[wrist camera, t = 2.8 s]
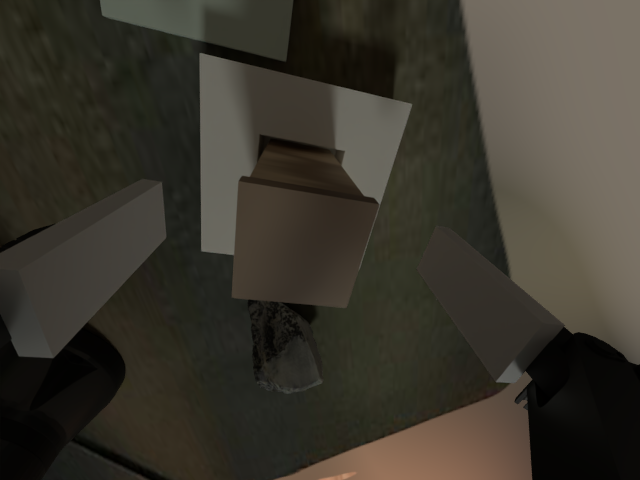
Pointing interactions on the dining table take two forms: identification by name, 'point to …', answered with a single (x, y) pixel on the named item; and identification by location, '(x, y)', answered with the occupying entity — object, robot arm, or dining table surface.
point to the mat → (214, 21)
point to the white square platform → (284, 134)
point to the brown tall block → (299, 228)
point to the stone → (283, 348)
